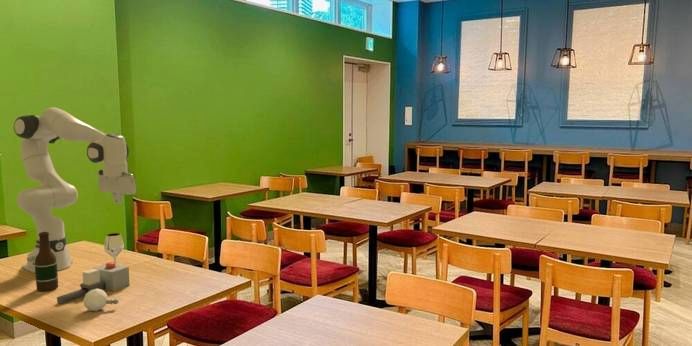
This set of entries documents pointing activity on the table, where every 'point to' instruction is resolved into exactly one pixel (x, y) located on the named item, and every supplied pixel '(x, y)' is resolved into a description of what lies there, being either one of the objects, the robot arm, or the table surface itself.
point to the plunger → (110, 265)
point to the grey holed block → (114, 276)
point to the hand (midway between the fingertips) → (117, 203)
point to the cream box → (91, 280)
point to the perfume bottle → (97, 300)
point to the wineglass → (113, 245)
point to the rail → (73, 295)
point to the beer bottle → (45, 266)
